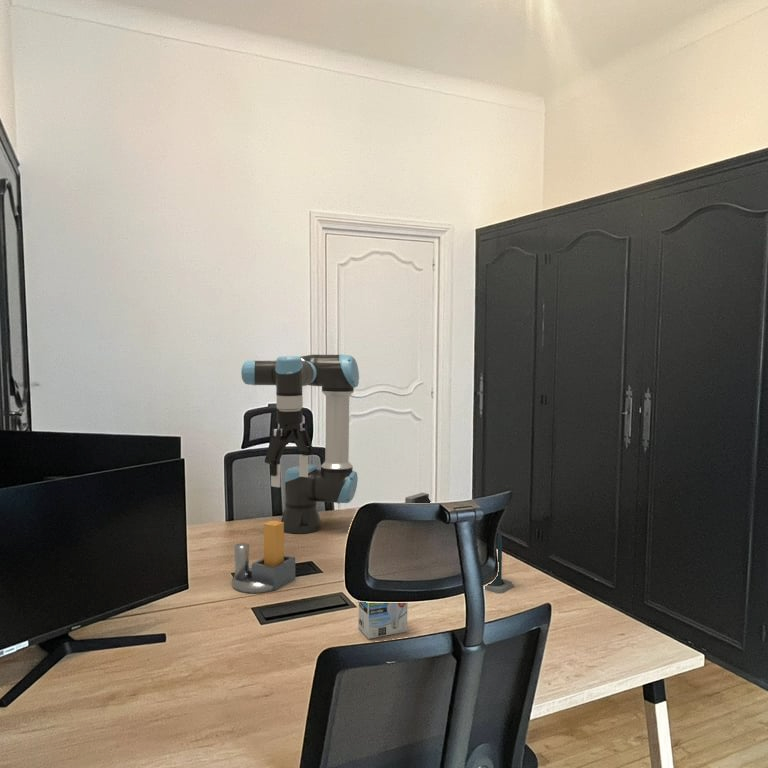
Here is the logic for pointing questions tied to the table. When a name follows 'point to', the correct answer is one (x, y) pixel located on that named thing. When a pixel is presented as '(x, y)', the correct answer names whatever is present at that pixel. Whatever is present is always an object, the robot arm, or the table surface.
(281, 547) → the orange rectangular block
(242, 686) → the table surface
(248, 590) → the bracket
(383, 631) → the light bulb box
